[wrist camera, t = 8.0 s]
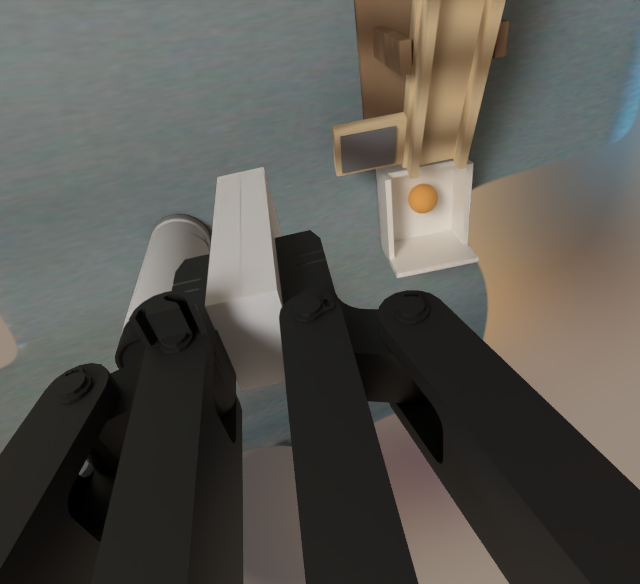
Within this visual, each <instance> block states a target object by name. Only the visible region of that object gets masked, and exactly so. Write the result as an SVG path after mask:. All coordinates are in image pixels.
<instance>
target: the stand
mask: <svg viewBox="0 0 640 584" xmlns="http://www.w3.org/2000/svg"><path fill="white" fill-rule="evenodd" d="M354 7H355V20H356V32H357V45H358V57H359V70H360V82H361V95H362V108H363V120H364V119H370V118H375V117H380V116H385V115H391V114H396V113H401V112H403V110H404V98H405V85H406V75H409V74H412V52H411V39H410V38H409V35H410V22H411V10H412V0H354ZM508 28H509V21H508V20H504V19H501V22H500V26H499V31H498V35H497V39H496V43H495V47H494V51H493V56H492V58H499V57H504V56H506V48H507V38H508Z"/></svg>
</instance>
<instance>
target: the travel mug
mask: <svg viewBox="0 0 640 584" xmlns="http://www.w3.org/2000/svg"><path fill="white" fill-rule="evenodd" d="M210 242H211V240H210V235H209V232H208V230H207V229H206V227H205V226H204V225H203V224H202V223H201V222H200V221H198V220H197V219H195V218H193V217H191V216H187V215H182V214H176V215H170V216H167V217H165V218H163V219H162V220H160V221H159V222H158V223H157V224H156V226H155V227H154V229H153V232H152V236H151V239H150V242H149V245H148V249H147V252H146V255H145V258H144V261H143V265H142V268H141V271H140V274H139V278H138V281H137V284H136V287H135V290H134V294H133V297H132V300H131V303H130V307H129V310H128V313H127V316H126V319H125V323H124V326H123V329H122V333H121V338H120V341H119V345H118V348H117V351H116V355H115V362H116V364H117V367H118V368H119V369H121V368H124V367H126V366H128V365H130V364H132V363H134V362H136V361H138V360H140V359H141V358H143V357H144V353H145V349H146V347H145V346H144V344H143V342H142V341H141V339H140V337H139V336H138V334H137V332H136V330H135V329H134V327H133V325H132V324H131V322H130V320H129V318H130V316H131V314H132V313H133V311H134V310H135V309H136V308H137V307H138V306H139V305H140V304H141V303H142V302H144V301H146V300H147V299H149V298H151V297H153V296H155V295H158V294H161V293H164V292H168V291H172V286H173V281H174V276H175V271H176V270H177V269H178V268H179V266H180V265H181V264H182V262H183V261H184V260H185V259H189V258H193V257H198V256H202V255H207V254H209V252H210Z"/></svg>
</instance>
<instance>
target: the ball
mask: <svg viewBox="0 0 640 584" xmlns="http://www.w3.org/2000/svg"><path fill="white" fill-rule="evenodd" d="M437 201H438V195H437V192H436V190H435V189H434V188H433V187H432V186H431V185H428V184H419V185H416V186H415V187H413V188H412V190H411V191H410V193H409V195H408V203H409V206H410V207H411V209H412V210H413V211H415V212H417V213H428V212H430V211H431V210H433V209H434V207H435V206H436V204H437Z"/></svg>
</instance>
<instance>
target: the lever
mask: <svg viewBox="0 0 640 584" xmlns="http://www.w3.org/2000/svg"><path fill="white" fill-rule="evenodd" d="M505 1H506V0H412V10H411V22H410V35H409V38H410V39H411V52H412V74H409V75H406V85H405V98H404V110H403V112H401V113H396V114H391V115H385V116H380V117H375V118H370V119H364V120H359V121H354V122H349V123H344V124H338V125H333V126H332V133H333V147H334V161H335V171H336V174H337V176H342V175H348V174H353V173H358V172H363V171H368V170H373V169H378V168H383V167H388V166H394V165H399V164H401V165H402V167H403V168H406V169H407V171H408V174H409V176H410V178H411V179H412V178H418V173H419V165H423V164H428V163H433V162H438V161H443V160H448V159H453V160H454V162H455V164H456V166H457V168H458V169H463V168H466V164H467V160H468V156H469V152H470V148H471V143H472V139H473V135H474V131H475V127H476V123H477V118H478V114H479V110H480V106H481V102H482V97H483V93H484V89H485V85H486V81H487V77H488V72H489V68H490V64H491V60H492V56H493V51H494V47H495V43H496V39H497V35H498V31H499V26H500V22H501V18H502V14H503V10H504V5H505Z"/></svg>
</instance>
